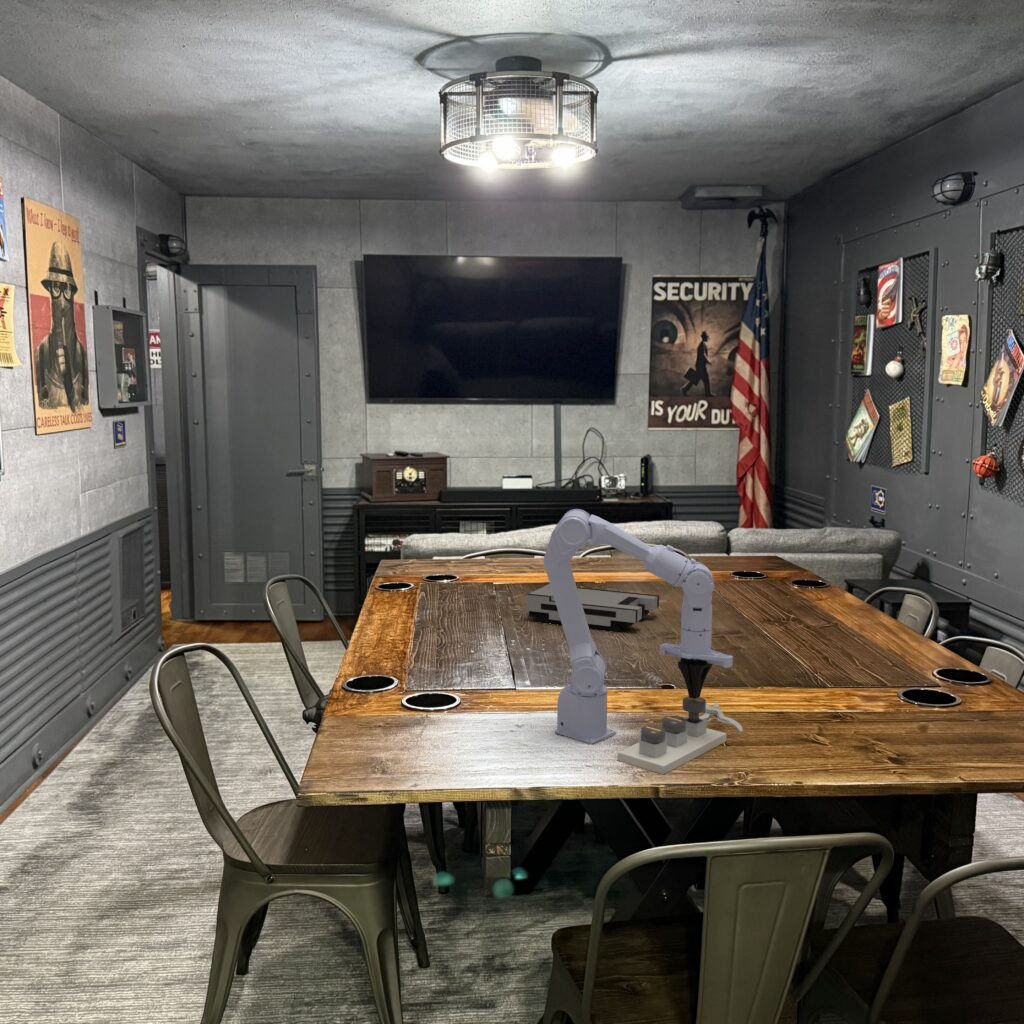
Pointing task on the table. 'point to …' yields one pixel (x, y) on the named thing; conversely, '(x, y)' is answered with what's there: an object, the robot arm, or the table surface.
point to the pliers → (719, 716)
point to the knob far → (694, 707)
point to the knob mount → (673, 748)
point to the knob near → (653, 734)
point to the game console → (595, 607)
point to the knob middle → (674, 724)
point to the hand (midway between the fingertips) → (694, 697)
